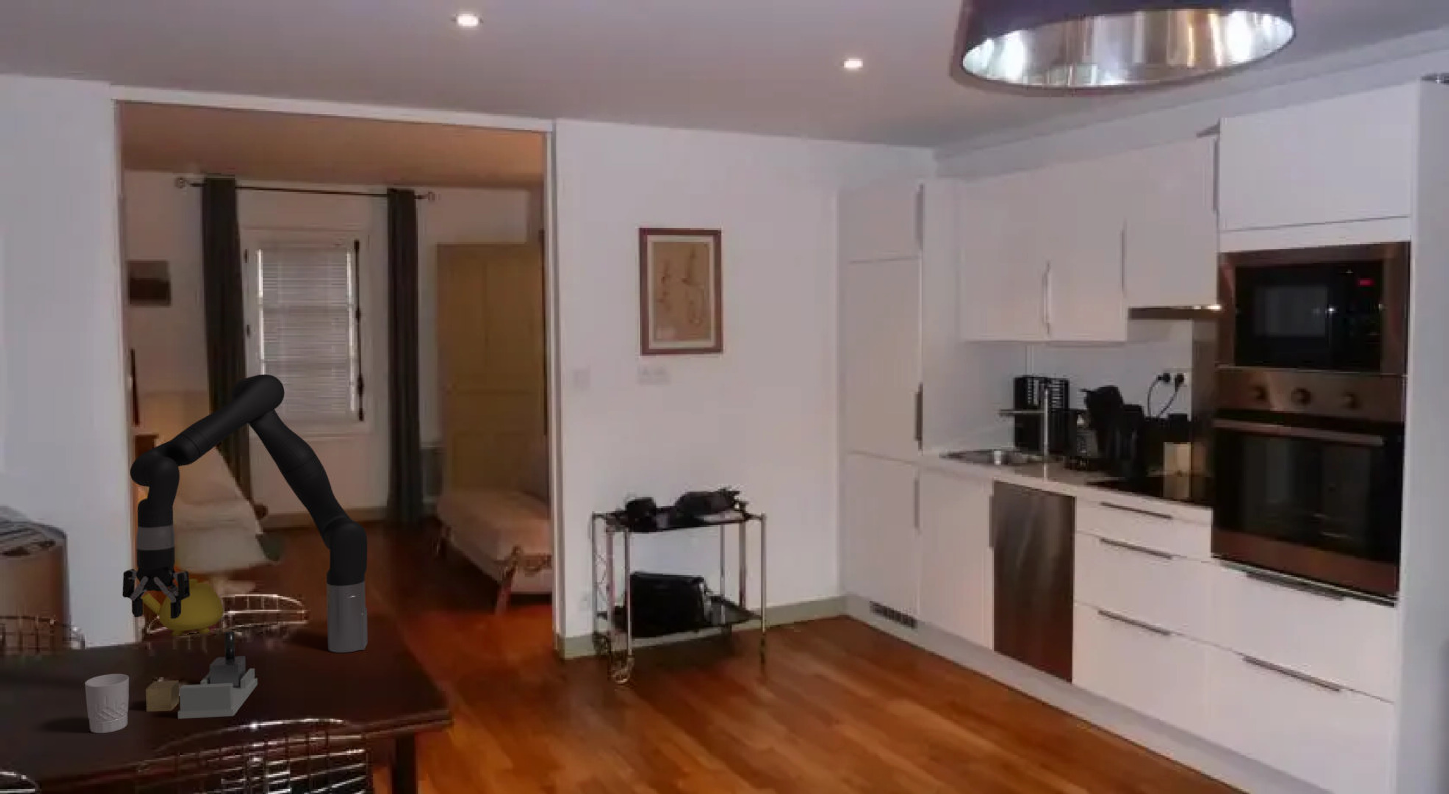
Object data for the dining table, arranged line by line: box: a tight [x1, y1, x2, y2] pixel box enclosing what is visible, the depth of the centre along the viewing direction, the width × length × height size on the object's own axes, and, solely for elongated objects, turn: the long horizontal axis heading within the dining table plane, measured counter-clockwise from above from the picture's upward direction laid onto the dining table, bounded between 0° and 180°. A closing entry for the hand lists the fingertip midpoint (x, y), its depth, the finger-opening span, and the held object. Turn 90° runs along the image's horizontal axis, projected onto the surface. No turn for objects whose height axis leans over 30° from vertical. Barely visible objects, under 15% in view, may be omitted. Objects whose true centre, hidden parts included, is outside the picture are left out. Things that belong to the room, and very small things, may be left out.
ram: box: [209, 630, 247, 686], centre depth 248 cm, size 6×6×11 cm
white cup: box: [84, 673, 130, 734], centre depth 226 cm, size 8×8×10 cm
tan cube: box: [145, 679, 180, 712], centre depth 238 cm, size 5×5×5 cm
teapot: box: [141, 578, 225, 637], centre depth 294 cm, size 20×16×14 cm
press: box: [177, 668, 258, 720], centre depth 242 cm, size 21×11×6 cm, turn 9°
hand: (156, 617), depth 244 cm, fingers open, 8 cm apart
